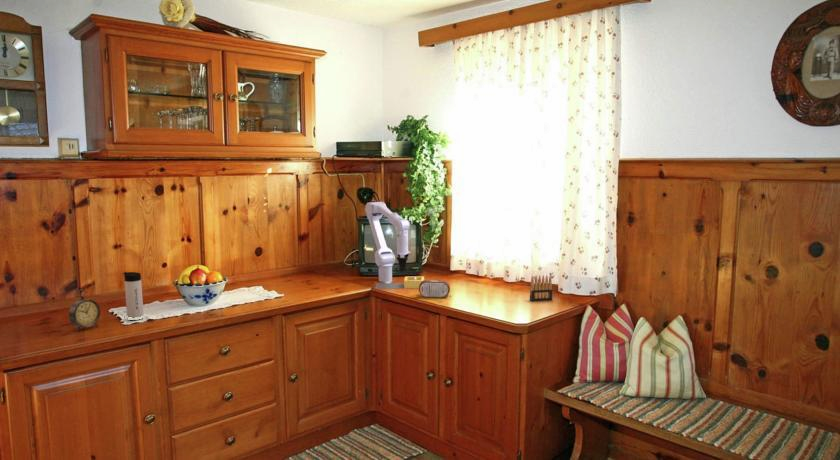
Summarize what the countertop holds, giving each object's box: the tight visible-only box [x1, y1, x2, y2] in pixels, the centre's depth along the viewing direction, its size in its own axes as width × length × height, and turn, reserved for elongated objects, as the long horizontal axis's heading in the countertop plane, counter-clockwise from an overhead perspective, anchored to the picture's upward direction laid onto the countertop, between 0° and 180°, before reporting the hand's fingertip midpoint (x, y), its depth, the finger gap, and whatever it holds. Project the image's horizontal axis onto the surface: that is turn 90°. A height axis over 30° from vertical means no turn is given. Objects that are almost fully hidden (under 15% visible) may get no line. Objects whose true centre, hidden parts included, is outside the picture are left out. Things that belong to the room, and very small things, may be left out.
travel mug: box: [122, 271, 144, 318], centre depth 245 cm, size 6×7×20 cm
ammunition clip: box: [529, 274, 553, 302], centre depth 275 cm, size 11×2×12 cm, turn 101°
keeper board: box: [374, 282, 419, 290], centre depth 303 cm, size 13×26×1 cm, turn 89°
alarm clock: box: [68, 288, 101, 332], centre depth 232 cm, size 11×5×16 cm, turn 155°
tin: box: [418, 279, 451, 299], centre depth 282 cm, size 15×3×8 cm, turn 84°
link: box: [403, 276, 425, 288], centre depth 302 cm, size 10×10×4 cm
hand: (402, 269), depth 303 cm, fingers open, 7 cm apart
